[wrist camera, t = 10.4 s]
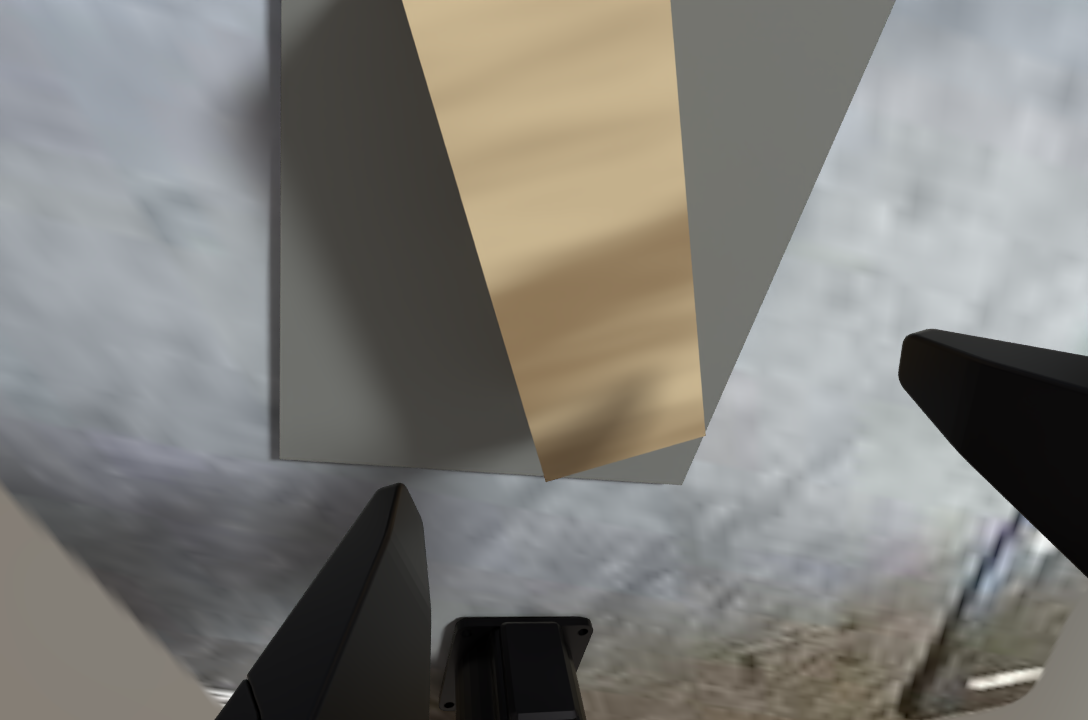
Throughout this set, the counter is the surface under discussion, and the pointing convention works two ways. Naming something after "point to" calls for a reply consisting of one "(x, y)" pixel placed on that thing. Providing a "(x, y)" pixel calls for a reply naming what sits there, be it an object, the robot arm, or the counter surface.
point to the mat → (447, 243)
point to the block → (575, 212)
